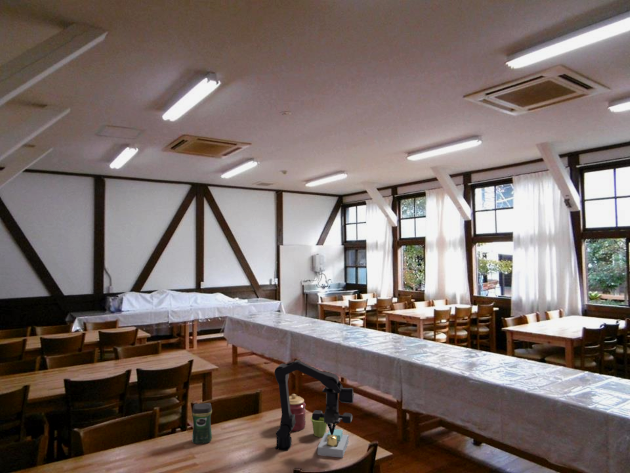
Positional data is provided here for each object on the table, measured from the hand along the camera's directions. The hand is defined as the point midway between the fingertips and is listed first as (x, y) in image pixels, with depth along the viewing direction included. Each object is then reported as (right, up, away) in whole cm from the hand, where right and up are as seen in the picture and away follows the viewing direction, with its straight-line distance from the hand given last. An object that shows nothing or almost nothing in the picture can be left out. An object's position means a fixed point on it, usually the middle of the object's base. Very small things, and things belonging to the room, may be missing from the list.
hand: (332, 434), depth 206 cm
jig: (+1, -8, +3) cm, 9 cm away
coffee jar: (-65, -8, +11) cm, 67 cm away
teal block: (+2, -4, +7) cm, 9 cm away
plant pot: (-6, -9, +18) cm, 21 cm away
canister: (-20, -9, +29) cm, 36 cm away
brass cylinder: (0, -8, 0) cm, 8 cm away
